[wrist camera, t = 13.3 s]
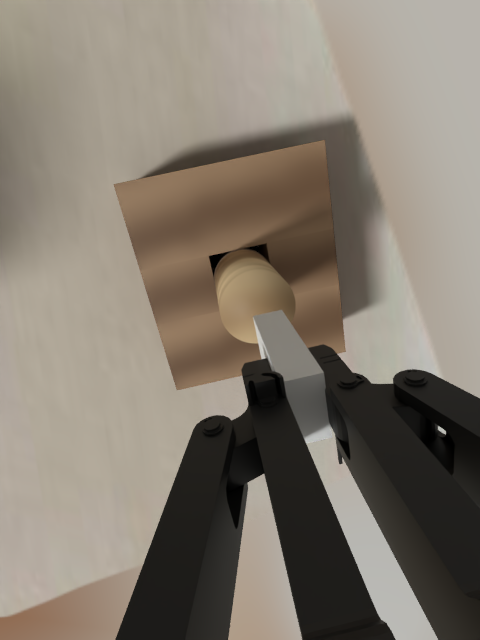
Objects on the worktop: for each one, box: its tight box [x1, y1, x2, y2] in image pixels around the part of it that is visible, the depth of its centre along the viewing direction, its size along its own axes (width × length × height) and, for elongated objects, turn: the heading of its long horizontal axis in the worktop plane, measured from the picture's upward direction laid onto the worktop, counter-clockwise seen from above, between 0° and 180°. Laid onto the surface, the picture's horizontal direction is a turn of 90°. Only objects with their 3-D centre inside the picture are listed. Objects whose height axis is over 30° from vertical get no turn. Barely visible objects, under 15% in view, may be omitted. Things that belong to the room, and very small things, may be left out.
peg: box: [214, 248, 296, 344], centre depth 29 cm, size 5×5×14 cm
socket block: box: [114, 140, 346, 390], centre depth 32 cm, size 18×16×6 cm
